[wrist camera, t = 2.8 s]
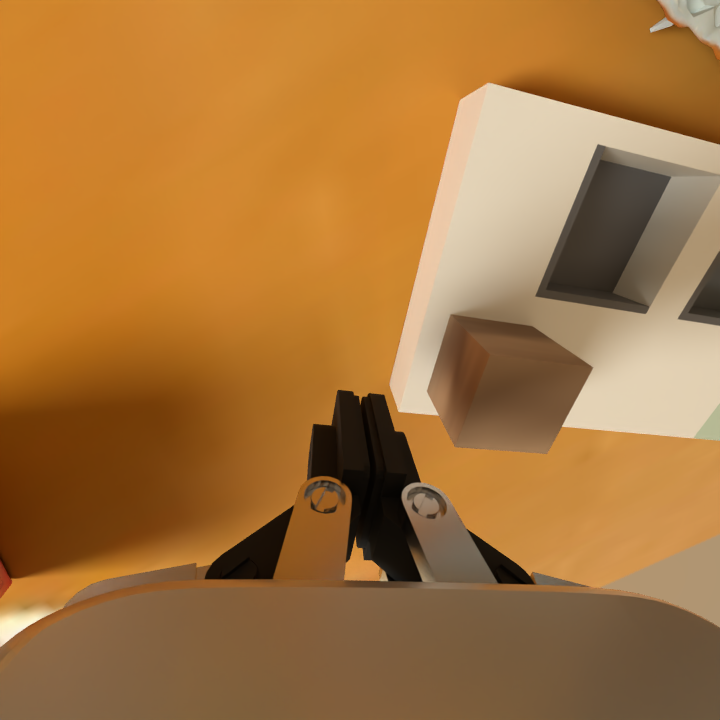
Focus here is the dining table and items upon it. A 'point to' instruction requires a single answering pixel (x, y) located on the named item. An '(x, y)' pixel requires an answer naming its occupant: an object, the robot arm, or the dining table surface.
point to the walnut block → (503, 385)
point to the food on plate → (694, 19)
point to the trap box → (578, 258)
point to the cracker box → (4, 580)
